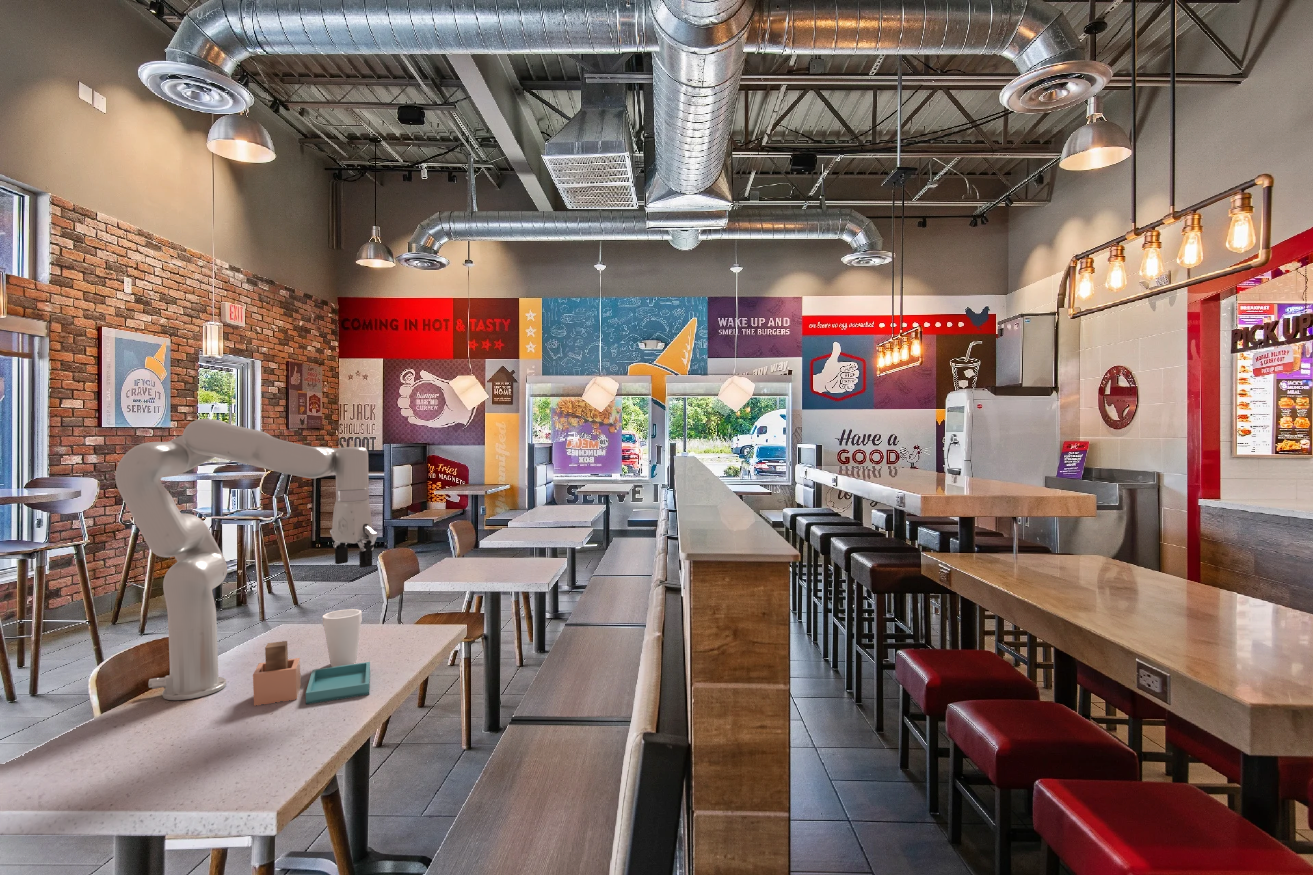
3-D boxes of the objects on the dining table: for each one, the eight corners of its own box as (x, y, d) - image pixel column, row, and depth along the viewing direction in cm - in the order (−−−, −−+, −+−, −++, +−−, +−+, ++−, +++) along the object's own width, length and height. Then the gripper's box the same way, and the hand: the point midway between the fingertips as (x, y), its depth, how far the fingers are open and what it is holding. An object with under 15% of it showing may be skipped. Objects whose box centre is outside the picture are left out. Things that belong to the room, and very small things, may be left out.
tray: (306, 704, 154) (305, 693, 154) (312, 679, 170) (312, 669, 170) (369, 694, 159) (368, 683, 159) (370, 671, 174) (369, 661, 174)
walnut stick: (267, 700, 157) (265, 647, 157) (269, 694, 160) (267, 643, 160) (286, 697, 158) (285, 645, 158) (289, 691, 162) (287, 640, 162)
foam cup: (353, 668, 177) (351, 618, 177) (317, 669, 177) (315, 619, 177) (369, 656, 186) (367, 608, 186) (335, 657, 187) (333, 609, 187)
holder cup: (253, 705, 154) (252, 674, 154) (260, 692, 162) (259, 663, 162) (296, 699, 157) (295, 668, 157) (300, 686, 165) (299, 657, 165)
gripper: (317, 496, 174) (318, 564, 174) (361, 499, 165) (362, 570, 165) (344, 494, 181) (345, 559, 181) (387, 496, 172) (388, 565, 172)
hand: (353, 564), depth 173 cm, fingers open, 9 cm apart
